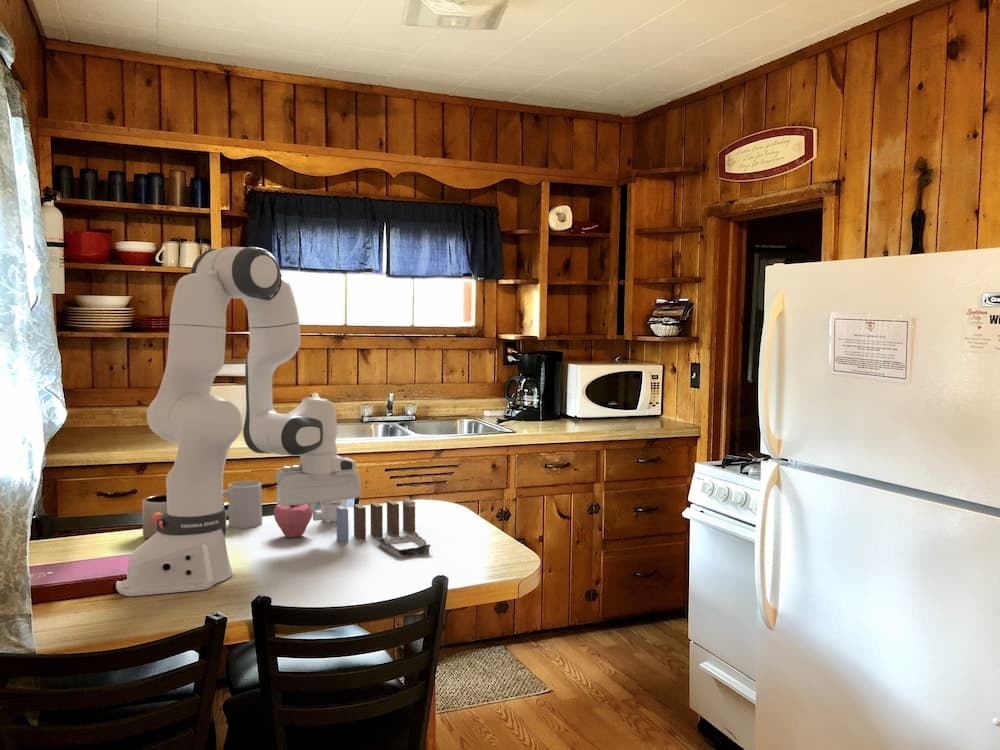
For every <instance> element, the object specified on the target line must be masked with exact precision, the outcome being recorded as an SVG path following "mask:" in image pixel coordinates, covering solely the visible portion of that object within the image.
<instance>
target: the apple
mask: <svg viewBox="0 0 1000 750" xmlns="http://www.w3.org/2000/svg"><path fill="white" fill-rule="evenodd" d="M273 516H274V520H275V522H276V524H277V526H278V527H279V528H280V530H281V532H282V534H283V535H284V537H288V538H299V537H302V536H303V535H304V534H305V531H306V529H307V527H308V525H309V523H310V522H311V520H312V519H313V513H312V511H311V510H310V508H309V507H308V504H298V505H289V506H281V505H280V504H279V503H277V504H276V505H275V507H274V509H273Z"/></svg>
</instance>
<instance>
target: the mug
mask: <svg viewBox="0 0 1000 750" xmlns="http://www.w3.org/2000/svg"><path fill="white" fill-rule="evenodd" d="M262 493H263V492H262V483H261V482H260V481H259V480H241V481H240V480H239V481H238V480H237V481H234V482H233V481H232V482H230V483H228V487H227V489H226V490H223V498H224V497H225V498H227V500H228V501H227V503H228V506H227V507H228V508H227V509H225V513H226V518H228V526H229V527H230V528H232V527H234V528H233V529H250V527H252V528H255V526H256V527H259V526H260V525H262V524H263V499H262V498H263V497H262V495H263V494H262Z"/></svg>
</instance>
